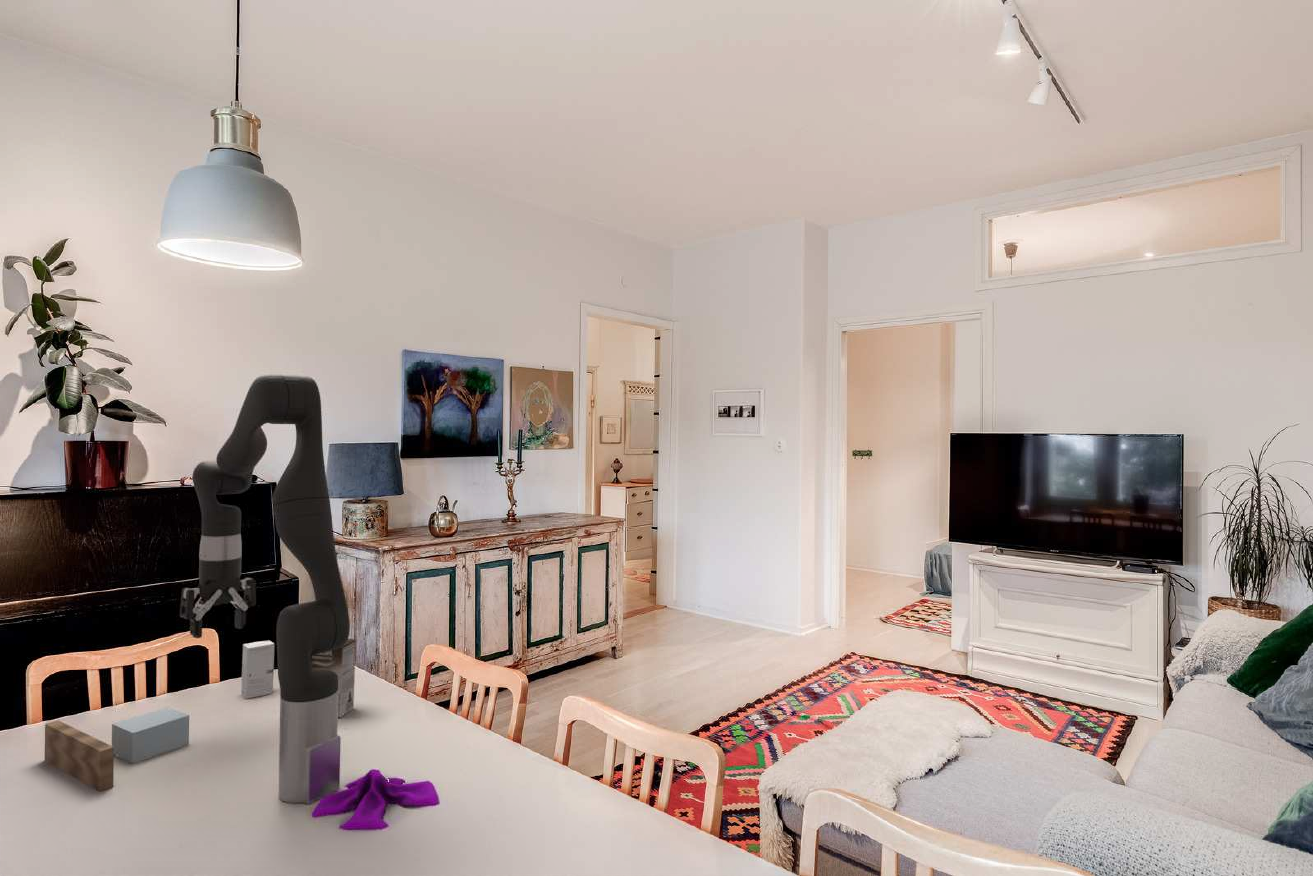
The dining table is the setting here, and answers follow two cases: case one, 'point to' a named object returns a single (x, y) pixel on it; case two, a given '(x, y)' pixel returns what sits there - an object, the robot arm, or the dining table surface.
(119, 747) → the block
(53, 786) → the dining table surface
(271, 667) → the skincare box
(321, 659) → the coffee box
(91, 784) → the plank
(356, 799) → the cloth
